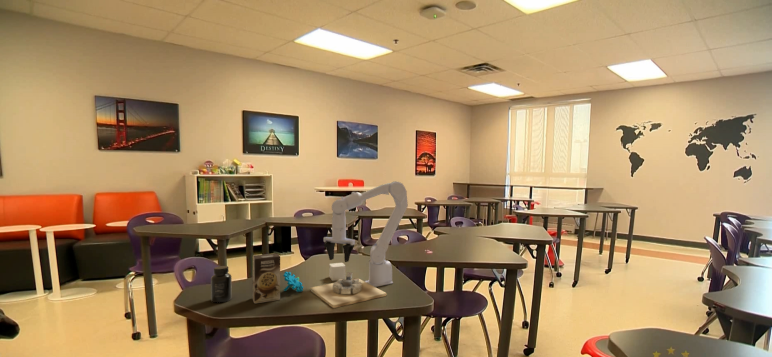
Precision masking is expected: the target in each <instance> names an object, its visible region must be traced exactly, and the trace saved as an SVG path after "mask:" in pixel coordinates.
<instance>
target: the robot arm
mask: <svg viewBox="0 0 772 357" xmlns="http://www.w3.org/2000/svg"><path fill="white" fill-rule="evenodd" d="M380 195H385V196H387V195H388V196H391V197H392V198H393V200H394V204H395V206H394V207H393V210H392V211H391V214H390V215H389V218H388V220H387V222H386V224H385V226H384V227H383V229H382V232H381V234H380V235H379V237H378V239H377V240H376V242H375V243H374V244H373V245H372V246H371V247H370V249H369V254H370V256H369V258H370V259H369V261H368V280H365V281H364V282H366V283H368V284H370V285H372V286H374V287H376V288H377V287H381V286H387V285H391V284H394V281H393V267H392V263H391V262H390V261H389V260H386V253H387V251H388V248H389V245H390V243H391V241H392V239H393V237H394V234H395V232H396V231H397V229H398V227H399V225H400V222H401V221H402V219H403V217H404V214H405V213H406V211H407V209H408V204H409V201H408V191H407V190H406V186H405V185H404V183H402V182H400V181H392V182H388V183H387V182H386V183H384V184H381V185H378V186H376V187H373V188H371V189H369V190H367V191H363V192H361V193H360V192H358V191H352V192H351V194H349V195H346V196H341V197H340V199H338V198H337V199H336V200H334V201H333V202H332V204H331V210H332V213H331V215H332V218H331V228H332V229H331V234H332V235H331V236H324V237H323V242H324V243H323V246H324V248H325V250H326V251H327V255H328V258H329V261H332V260H334V259H335V258H334V257H335V246H336V244H341V245H342V248H343V255H344V258H343V259H344V263H348V262H349V261H350V256H351V253H352V252H353V248H354V247H355V245H356V239H352V238H348V237H347V217H346V211H349V210H352V209H354V208H357V207H361V205H363V204H364V201H366V200H369V199H372V198H374V197H377V196H380Z"/></svg>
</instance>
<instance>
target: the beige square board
mask: <svg viewBox="0 0 772 357" xmlns="http://www.w3.org/2000/svg"><path fill="white" fill-rule="evenodd" d="M354 279H358V281H360V282H361V283H362V289H361V291H360V292H357V293H354V294H352V293H351V294H341V293H340V294H338V293H335V292H333V284H334V283H335V282H332V283H327V284H321V285H317V286H312V287H311V286H310V288H309V291H310V292H312V293H313V294H314V295H315V296H317V297H318V298H319V299H320V300H322V301H323V302H324V303H326V304H327V305H329V306H330V307H331V308H332V309H335V308H340V307H344V306H349V305H352V304H358V303H362V302H365V301H370V300H374V299H378V298H379V299H380V298H382V297H386V296H387V295H388V294H387V292H385V291H383V290H381V289H379V288H377V287H374V286H372V285H370V284H368V283H366V282H365V281H364V280H362V279H360V278H355V277H354V278H352V280H354ZM351 284H352V281H351V280H346V279H344V280H343V287H350V286H351Z"/></svg>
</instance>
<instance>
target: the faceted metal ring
mask: <svg viewBox="0 0 772 357" xmlns="http://www.w3.org/2000/svg"><path fill="white" fill-rule="evenodd" d="M346 273H347V274H346V279H345V280H351V281H352V284H351V286H350V287H343V281H344V280H342V279H338V280H336V281H334V282H333V283H334V284H333V292H335V293H338V294H340V293H341V294H351V293H352V294H354V293H357V292H360V291H361V289H362V283H361V282H360V281H358V278H357V279H354V278H353V272H352V271H348V272H346ZM353 279H354V280H353Z"/></svg>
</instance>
